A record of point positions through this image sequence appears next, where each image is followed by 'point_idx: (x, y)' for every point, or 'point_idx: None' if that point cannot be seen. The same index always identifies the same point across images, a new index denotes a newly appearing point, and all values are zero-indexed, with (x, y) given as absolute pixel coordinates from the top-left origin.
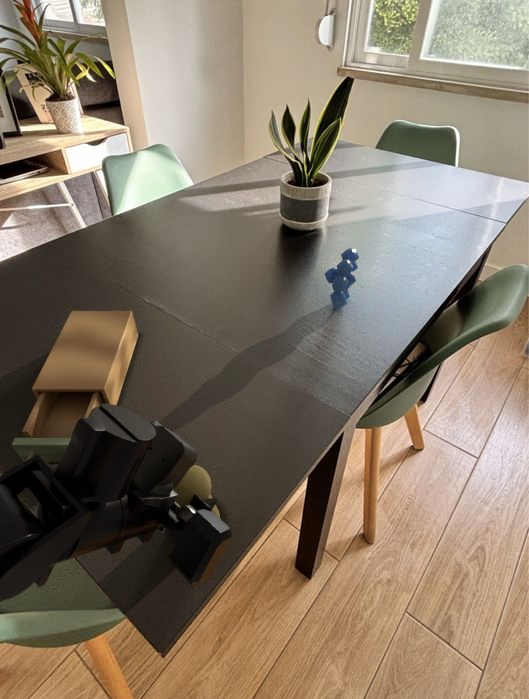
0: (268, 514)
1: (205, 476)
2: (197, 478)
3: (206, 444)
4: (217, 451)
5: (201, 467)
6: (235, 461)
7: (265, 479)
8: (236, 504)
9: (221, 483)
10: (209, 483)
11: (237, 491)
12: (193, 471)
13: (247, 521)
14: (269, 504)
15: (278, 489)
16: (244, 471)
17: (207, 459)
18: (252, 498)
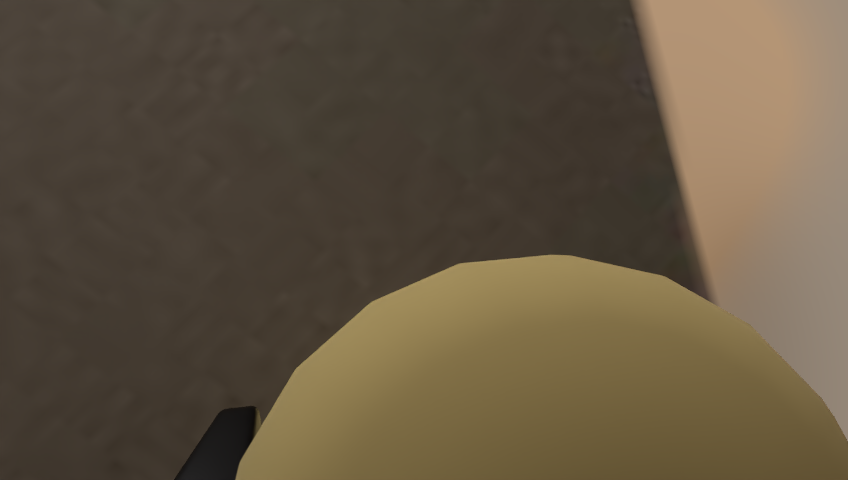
0: (666, 142)
1: (710, 325)
2: (704, 462)
3: (11, 93)
4: (116, 78)
5: (482, 266)
6: (266, 47)
7: (490, 9)
8: (499, 233)
9: (323, 209)
10: (764, 341)
11: (437, 173)
12: (547, 434)
13: (625, 255)
14: (624, 98)
15: (587, 3)
16: (362, 56)
17: (111, 162)
18: (533, 140)
